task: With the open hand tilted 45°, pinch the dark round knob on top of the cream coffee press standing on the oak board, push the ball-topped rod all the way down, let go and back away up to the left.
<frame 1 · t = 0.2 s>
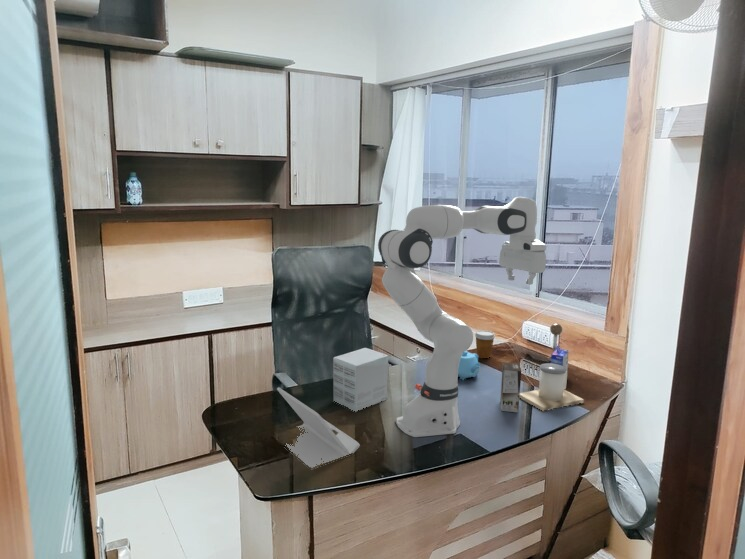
hand: (520, 282, 185), 48 cm above the table, tool pointing down, fingers open, 8 cm apart
ball-topped rod: (555, 336, 197), point 26 cm above the table, slide at 0.0 cm
oak board: (550, 400, 202), on the table
blue piggy bank: (462, 376, 225), on the table
ink cartridge box: (558, 379, 224), on the table
press carafe: (550, 396, 201), resting on oak board
coffee box: (509, 407, 195), on the table
tablet stand: (314, 444, 166), on the table
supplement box: (360, 401, 198), on the table
disposable coffee cup: (483, 357, 251), on the table
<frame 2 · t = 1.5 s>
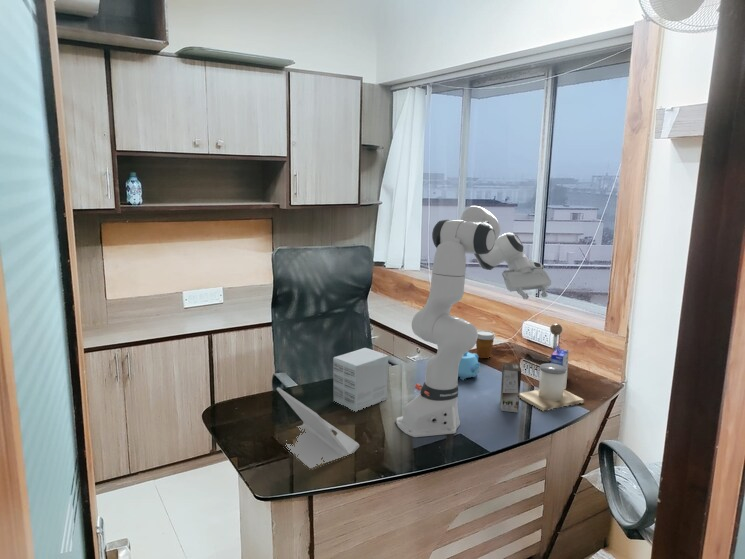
hand: (535, 297, 205), 38 cm above the table, tool tilted 45°, fingers open, 8 cm apart
nothing on the table moved.
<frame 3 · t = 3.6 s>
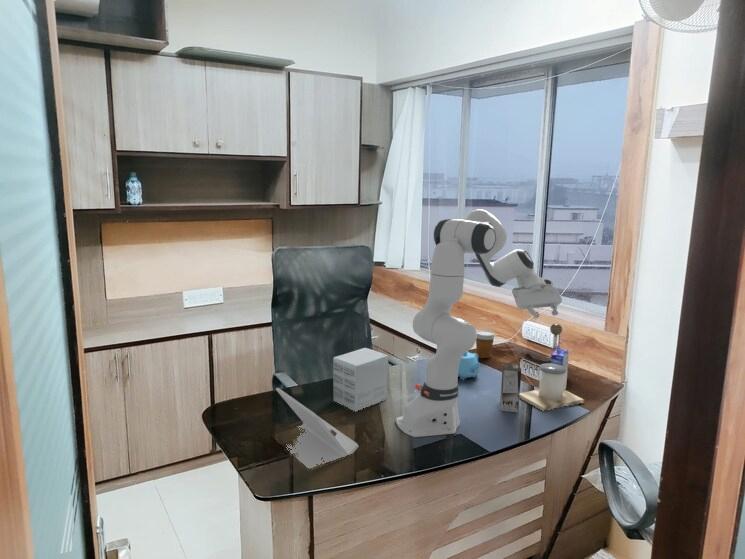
hand: (546, 315, 200), 32 cm above the table, tool tilted 45°, fingers open, 8 cm apart
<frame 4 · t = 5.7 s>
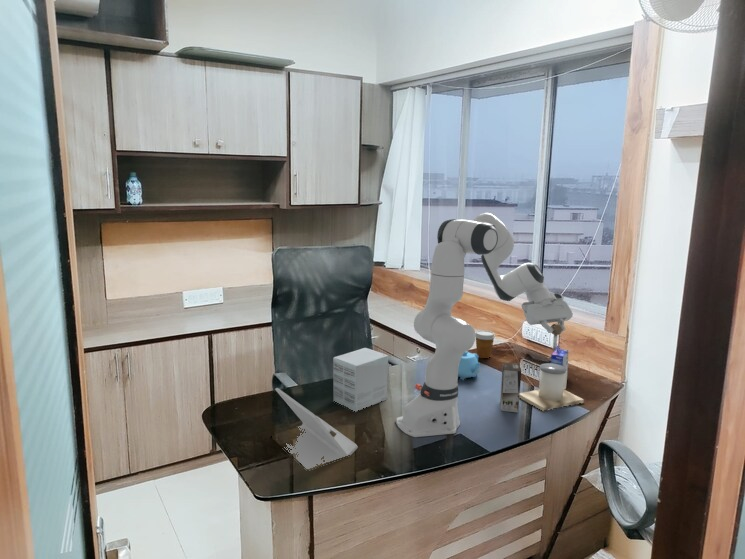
hand: (557, 331, 196), 28 cm above the table, tool tilted 45°, fingers closed on ball-topped rod, 4 cm apart
ball-topped rod: (555, 336, 197), point 26 cm above the table, slide at 0.0 cm, touching gripper
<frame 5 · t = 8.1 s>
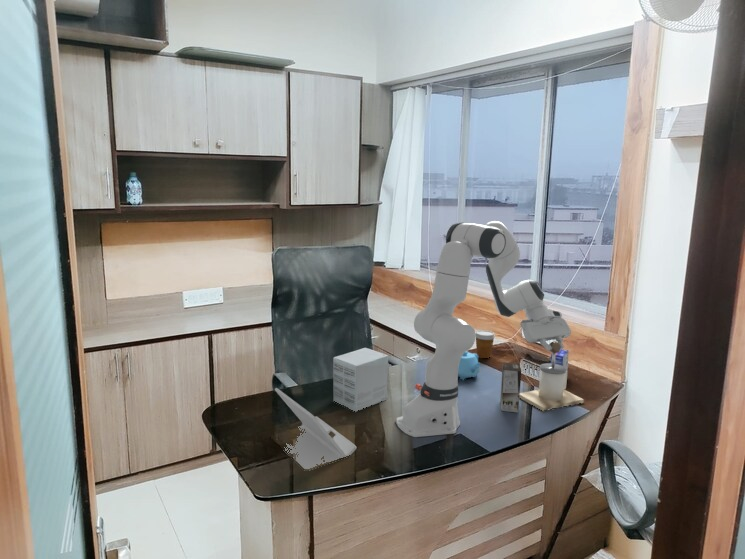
hand: (555, 349, 197), 21 cm above the table, tool tilted 45°, fingers closed on ball-topped rod, 4 cm apart
ball-topped rod: (554, 354, 198), point 19 cm above the table, slide at 7.1 cm, touching gripper
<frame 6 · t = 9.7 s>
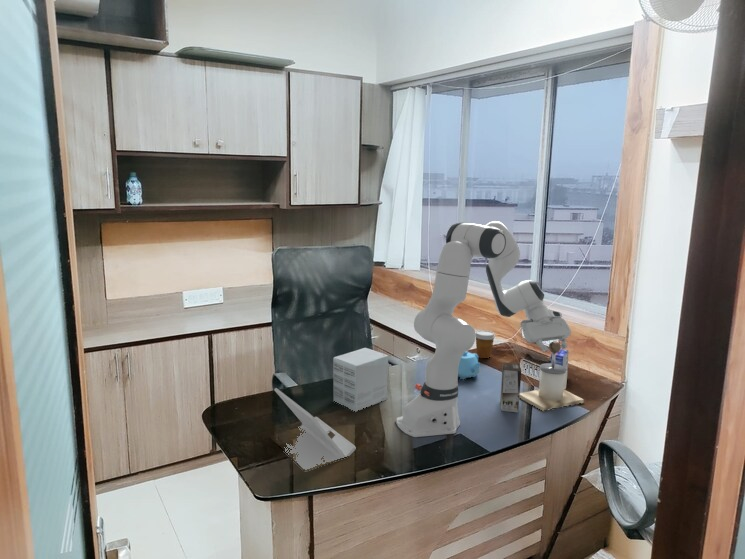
hand: (555, 349, 197), 21 cm above the table, tool tilted 45°, fingers open, 8 cm apart
ball-topped rod: (554, 354, 198), point 19 cm above the table, slide at 7.1 cm
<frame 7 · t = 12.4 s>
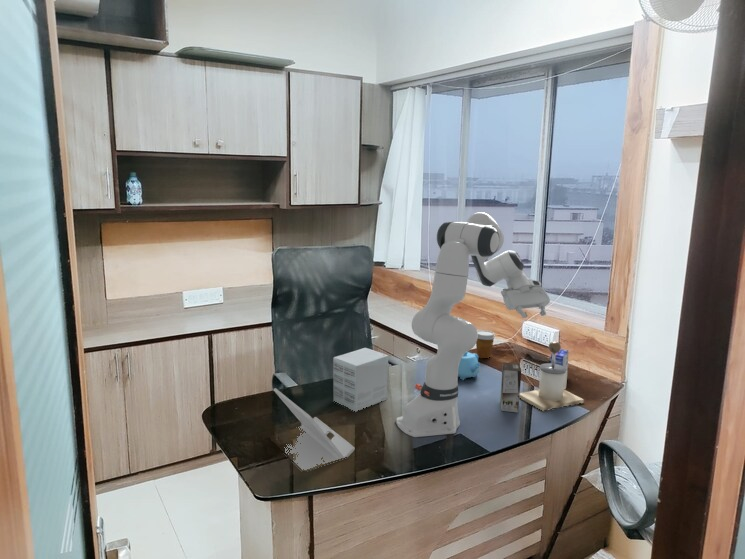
hand: (534, 316, 207), 31 cm above the table, tool tilted 45°, fingers open, 8 cm apart
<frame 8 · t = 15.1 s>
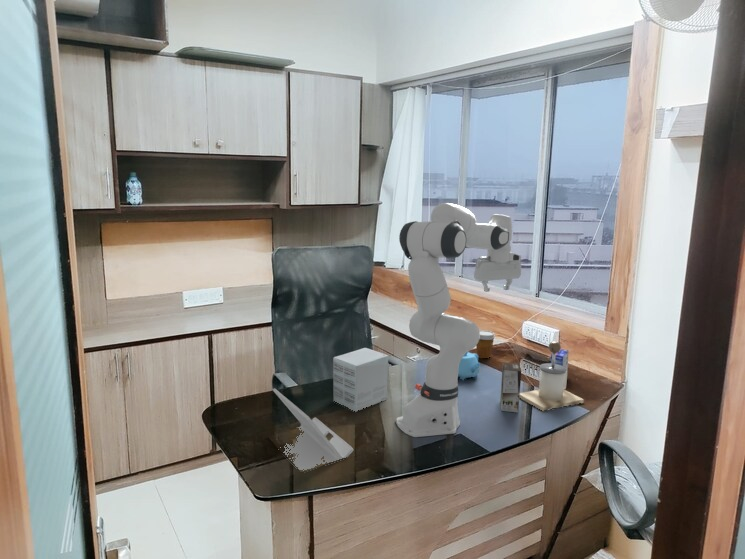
hand: (496, 290, 204), 41 cm above the table, tool pointing down, fingers open, 8 cm apart
at the end: ball-topped rod slide at 7.1 cm; the gripper is holding nothing; coffee box moved 0.2 cm from its start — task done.
